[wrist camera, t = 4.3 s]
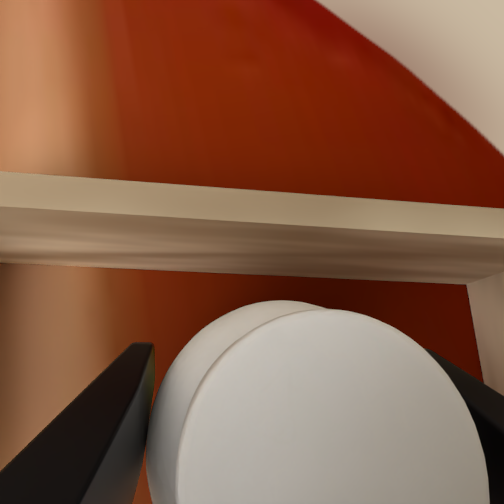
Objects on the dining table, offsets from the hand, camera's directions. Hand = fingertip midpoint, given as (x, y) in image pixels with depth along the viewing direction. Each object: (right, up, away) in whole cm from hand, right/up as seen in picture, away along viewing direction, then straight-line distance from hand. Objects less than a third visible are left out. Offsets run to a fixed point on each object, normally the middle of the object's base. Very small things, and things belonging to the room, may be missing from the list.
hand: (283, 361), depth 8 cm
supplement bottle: (-1, -4, +6) cm, 7 cm away
